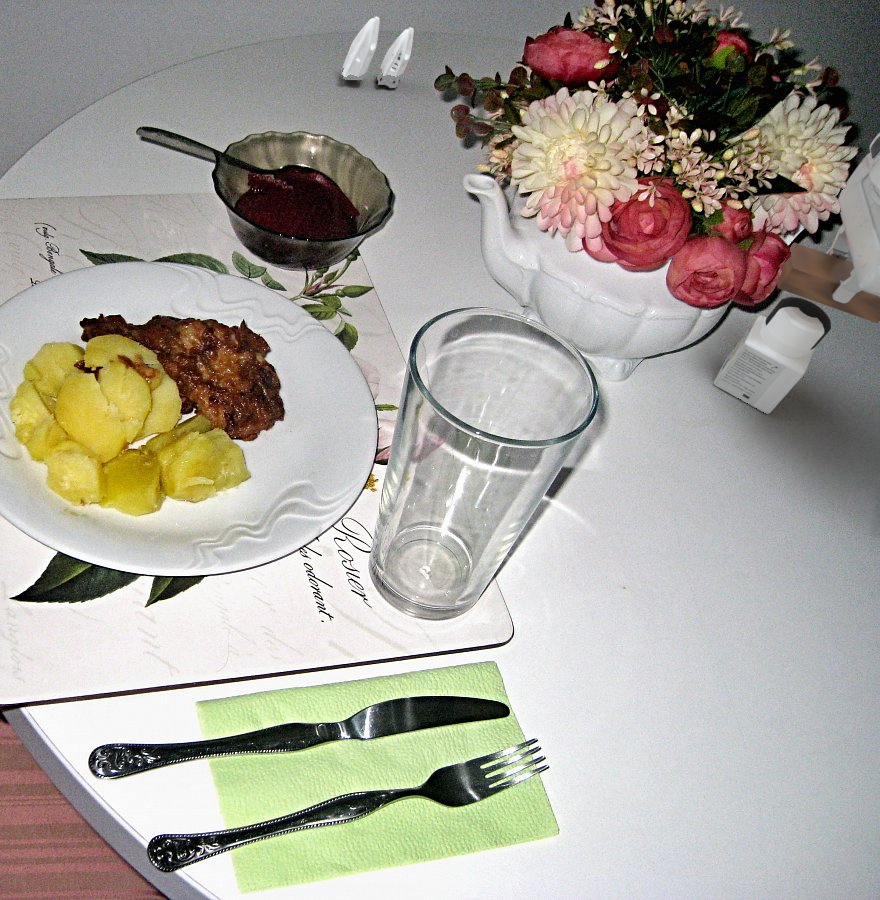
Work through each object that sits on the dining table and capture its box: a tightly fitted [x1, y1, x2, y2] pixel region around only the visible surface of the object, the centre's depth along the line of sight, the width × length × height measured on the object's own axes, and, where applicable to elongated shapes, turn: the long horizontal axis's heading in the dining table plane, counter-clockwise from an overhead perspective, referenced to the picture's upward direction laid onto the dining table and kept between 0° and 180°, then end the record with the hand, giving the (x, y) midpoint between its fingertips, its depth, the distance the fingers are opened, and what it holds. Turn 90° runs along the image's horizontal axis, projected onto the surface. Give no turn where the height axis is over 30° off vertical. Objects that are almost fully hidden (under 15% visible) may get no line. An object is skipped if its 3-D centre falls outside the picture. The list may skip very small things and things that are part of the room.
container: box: [713, 296, 832, 415], centre depth 113 cm, size 8×8×13 cm
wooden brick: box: [776, 242, 880, 324], centre depth 105 cm, size 12×6×3 cm, turn 73°
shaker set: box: [340, 16, 415, 77], centre depth 148 cm, size 12×4×11 cm, turn 106°
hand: (833, 280), depth 105 cm, fingers closed on wooden brick, 6 cm apart
